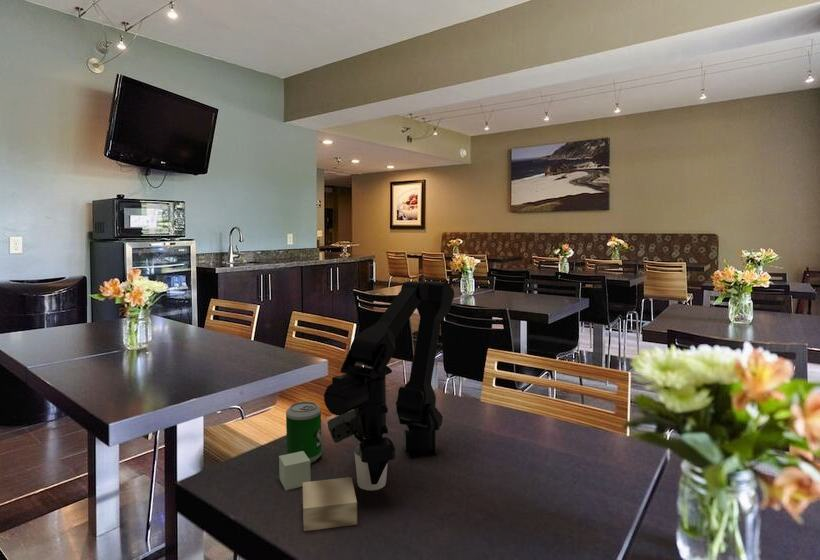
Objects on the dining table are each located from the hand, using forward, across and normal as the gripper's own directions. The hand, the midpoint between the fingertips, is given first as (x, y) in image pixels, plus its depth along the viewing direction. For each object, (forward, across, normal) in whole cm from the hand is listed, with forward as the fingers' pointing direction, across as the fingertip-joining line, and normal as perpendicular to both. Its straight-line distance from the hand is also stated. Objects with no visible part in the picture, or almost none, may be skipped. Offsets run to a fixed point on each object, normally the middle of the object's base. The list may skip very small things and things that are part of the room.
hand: (371, 475), depth 100 cm
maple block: (+2, +9, -9) cm, 13 cm away
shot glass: (+2, 0, 0) cm, 2 cm away
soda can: (+2, -14, -13) cm, 19 cm away
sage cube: (+2, -4, -15) cm, 16 cm away
